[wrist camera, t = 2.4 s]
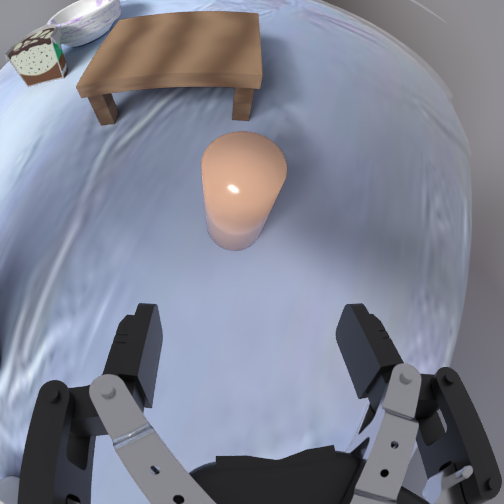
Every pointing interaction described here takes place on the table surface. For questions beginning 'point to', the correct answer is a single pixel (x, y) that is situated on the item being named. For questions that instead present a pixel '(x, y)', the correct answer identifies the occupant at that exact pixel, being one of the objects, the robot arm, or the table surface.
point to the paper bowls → (85, 20)
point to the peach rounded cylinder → (240, 186)
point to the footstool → (176, 58)
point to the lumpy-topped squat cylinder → (9, 490)
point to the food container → (39, 56)
